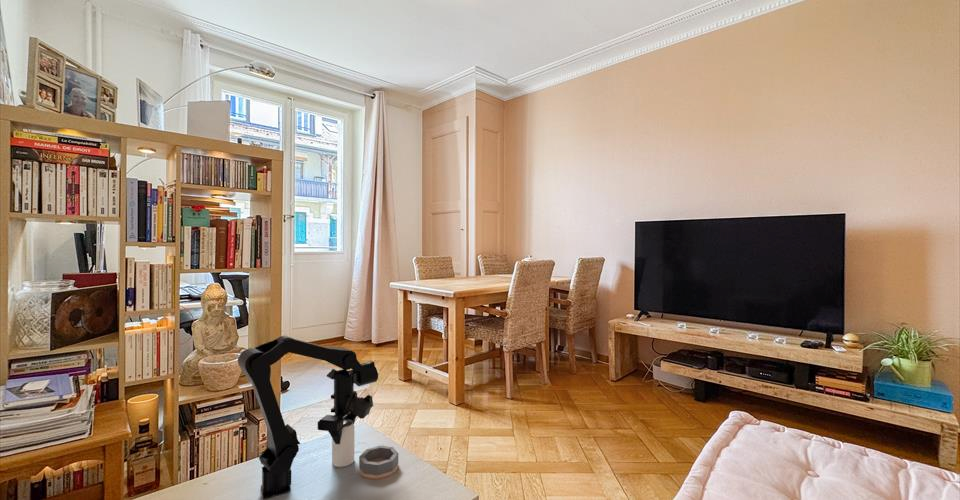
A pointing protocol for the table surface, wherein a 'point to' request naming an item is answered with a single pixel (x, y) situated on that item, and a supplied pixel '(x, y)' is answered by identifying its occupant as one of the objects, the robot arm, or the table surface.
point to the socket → (378, 462)
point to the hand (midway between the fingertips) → (343, 440)
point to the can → (344, 446)
